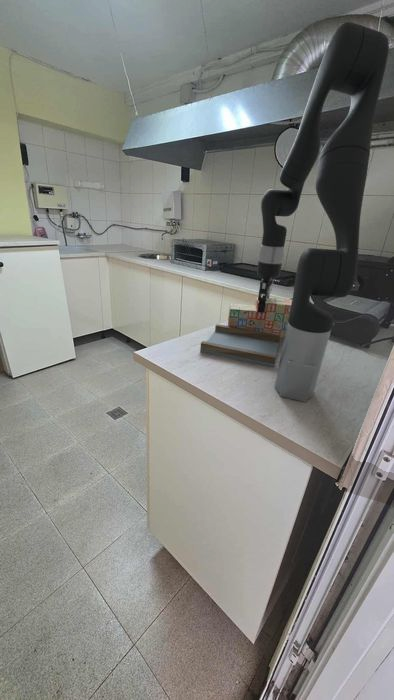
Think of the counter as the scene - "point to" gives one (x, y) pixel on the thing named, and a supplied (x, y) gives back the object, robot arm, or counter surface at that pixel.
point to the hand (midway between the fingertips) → (262, 308)
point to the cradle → (242, 345)
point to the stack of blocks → (261, 316)
